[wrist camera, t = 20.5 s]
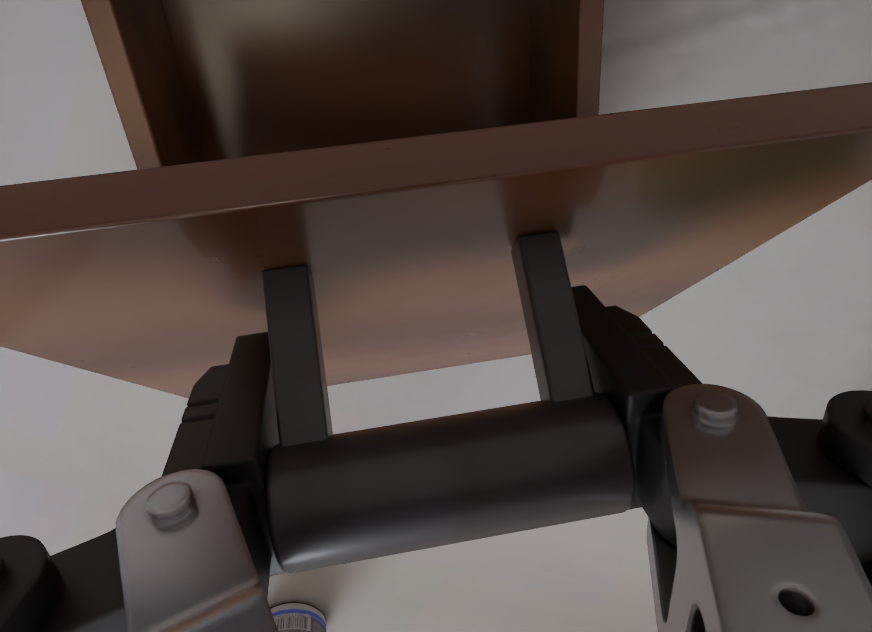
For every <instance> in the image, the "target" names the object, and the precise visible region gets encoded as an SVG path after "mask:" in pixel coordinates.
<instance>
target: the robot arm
mask: <svg viewBox="0 0 872 632" xmlns="http://www.w3.org/2000/svg"><path fill="white" fill-rule="evenodd" d="M571 288H572V292H573V297H574V301H575V306H576V310H577V314H578V319H579V323H580V328H581V332H582V337H583V341H584V346H585V350H586V355H587V359H588V364H589V368H590V373H591V377H592V382H593V386H594V391H595V392H597V393H601V394H604V395H605V396H606V397H608V398H609V400H610V401H611V402H612V403H613V405H614V406H615V408H616V410H617V411H618V413H619V415H620V417H621V419H622V422H623V424H624V427H625V429H626V432H627V435H628V438H629V441H630V445H631V449H632V454H633V459H634V466H635V478H636V489H635V497H634V501H633V504H632V505H631V507H630V508H629V509H634V508H639V507H643V509H644V511H645V512H646V514H647V515H648V517H649V518H648V526H647V545H648V554H649V562H650V571H651V579H652V588H653V596H654V605H655V613H656V622H657V630H658V632H872V391H862V390H861V391H848V392H844V393H840V394H838V395H836V396H834V397H833V398H831V399H830V400H829V402H828V404H827V407H826V411H825V414H824V417H823V420H818V419H799V418H779V417H768V416H767V415H766V413H765V412H764V410H763V409H762V408H761V406H760V405H759V404H758V403H756V402H755V401H754V400H753V399H751V398H750V397H748V396H746V395H744V394H742V393H740V392H738V391H736V390H733V389H730V388H727V387H723V386H718V385H711V384H702V383H701V382H700V381H699V380H698V379H697V378H696V376H695V375H694V374H693V373H692V372H691V371H690V370H689V369H688V368H687V367H686V366H685V365H684V364H683V363H682V362H681V361H680V360H679V359H678V358H677V357H676V356H675V355H674V354H673V353H672V352H671V350H670V349H669V348H668V347H667V346H664V345H663V342H662V341H661V340H660V339H659V338H658V337H657V336H656V335H655V334H652V331H651V330H650V329H649V328H648V327H647V326H646V324H645V323H644V322H643V321H642V320H641V319H640V318H639V317H638V316H636V315H634V314H632V313H630V312H628V311H626V310H624V309H622V308H620V307H618V306H616V305H614V306H607V307H605V306H604V305H603V304H602V302H601V301H600V300H599V299H598V298H597V297H596V296H595V295H594V293H593V292H592V291H591V290H590V289H589V288H588V287H587V286H586V285H580V286H574V287H571ZM187 406H188V407H187V408H185V411H184V414H183V417H182V424H180V426H179V428H178V431H177V434H176V437H175V440H174V443H173V446H172V448H171V451H170V454H169V457H168V460H167V463H166V466H165V468H164V471H163V474H162V477H160V478H158V479H156V480H154V481H153V482H151V483H149V484H147V485H146V486H144V487H143V488H142V489H140V490H139V491H138V492H137V493H135V494H134V495H133V496H132V497H131V498H130V499H129V500H128V501H127V502H126V504H125V505H124V507H123V508H122V509H121V511H120V513H119V515H118V518H117V521H116V528H115V529H113V530H111V531H110V532H108V533H105V534H103V535H101V536H99V537H96V538H94V539H91V540H89V541H86V542H84V543H82V544H79V545H77V546H74V547H72V548H69V549H67V550H64V551H62V552H59V553H57V554H55V555H52V556H50V555H49V553H48V552H47V550H46V548H45V547H44V545H43V544H42V543H41V541H39V540H38V539H36V538H34V537H30V536H23V535H17V536H8V537H3V538H0V632H278V629H277V626H276V623H275V621H274V618H273V615H272V612H271V610H270V607H269V604H268V601H267V595H268V586H269V576H272V575H278V574H283V573H287V572H284V571H282V569H281V568H280V566H279V564H278V561H277V559H276V557H275V554H274V550H273V547H272V542H271V538H270V532H269V526H268V518H267V508H266V469H267V462H268V458H269V453H270V451H271V449H272V447H273V446H275V445H277V444H279V435H278V425H277V415H276V406H275V396H274V386H273V377H272V367H271V357H270V347H269V338H268V332H262V333H255V334H248V335H241V336H237V337H236V340H235V344H234V347H233V351H232V354H231V358H230V362H229V364H225V365H219V366H212V367H210V368H209V369H208V371H207V372H206V373H205V374H204V375H203V376H202V377H201V378H200V379H199V380H198V381H197V382H196V383H195V384H194V386H193V388H192V391H191V394H190V397H189V400H188V403H187ZM629 509H628V510H629Z"/></svg>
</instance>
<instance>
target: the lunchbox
mask: <svg viewBox="0 0 872 632" xmlns="http://www.w3.org/2000/svg"><path fill="white" fill-rule="evenodd" d="M81 2H82V5H83V8H84V11H85V14H86V17H87V20H88V23H89V26H90V29H91V32H92V35H93V38H94V41H95V44H96V47H97V50H98V53H99V56H100V59H101V62H102V65H103V68H104V71H105V74H106V77H107V80H108V83H109V86H110V89H111V92H112V95H113V98H114V101H115V104H116V107H117V110H118V113H119V116H120V119H121V122H122V125H123V128H124V131H125V134H126V137H127V140H128V143H129V146H130V149H131V152H132V154H133V157H134V160H135V163H136V166H137V169H138V170H140V169H148V168H156V167H165V166H173V165H182V164H190V163H198V162H207V161H215V160H224V159H232V158H240V157H249V156H257V155H266V154H274V153H282V152H291V151H299V150H308V149H316V148H324V147H333V146H341V145H350V144H358V143H366V142H375V141H383V140H392V139H400V138H408V137H417V136H425V135H434V134H442V133H450V132H459V131H467V130H476V129H484V128H492V127H501V126H509V125H518V124H526V123H534V122H543V121H551V120H560V119H568V118H576V117H585V116H593V115H598V110H599V91H600V71H601V52H602V33H603V13H604V0H81Z"/></svg>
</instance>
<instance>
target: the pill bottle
mask: <svg viewBox="0 0 872 632" xmlns="http://www.w3.org/2000/svg"><path fill="white" fill-rule="evenodd" d="M270 610H271V612H272V615H273V618H274V621H275V623H276V626H277V629H278V632H326V620H325V617H324V616H323V614H322V613H321V612H320V611H318V610H317V609H315V608H314V607H311V606H309V605H306V604H301V603H288V604H282V605H279V606H276V607H273V608H271V609H270Z"/></svg>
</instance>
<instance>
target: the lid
mask: <svg viewBox="0 0 872 632" xmlns="http://www.w3.org/2000/svg"><path fill="white" fill-rule="evenodd" d="M870 180H872V82H870V83H862V84H854V85H845V86H837V87H828V88H820V89H812V90H803V91H795V92H786V93H778V94H770V95H761V96H753V97H744V98H736V99H728V100H719V101H711V102H702V103H694V104H686V105H677V106H669V107H660V108H652V109H644V110H635V111H627V112H618V113H610V114H602V115H593V116H585V117H576V118H568V119H560V120H551V121H543V122H534V123H526V124H518V125H509V126H501V127H492V128H484V129H476V130H467V131H459V132H450V133H442V134H434V135H425V136H417V137H408V138H400V139H392V140H383V141H375V142H366V143H358V144H350V145H341V146H333V147H324V148H316V149H308V150H299V151H291V152H282V153H274V154H266V155H257V156H249V157H240V158H232V159H224V160H215V161H207V162H198V163H190V164H182V165H173V166H165V167H156V168H148V169H140V170H131V171H123V172H114V173H106V174H98V175H89V176H81V177H72V178H64V179H56V180H47V181H39V182H30V183H22V184H14V185H5V186H0V346H1V347H5V348H8V349H12V350H15V351H19V352H23V353H26V354H30V355H34V356H37V357H41V358H44V359H48V360H52V361H55V362H59V363H63V364H66V365H70V366H74V367H77V368H81V369H84V370H88V371H92V372H95V373H99V374H103V375H106V376H110V377H113V378H117V379H121V380H124V381H128V382H132V383H135V384H139V385H143V386H146V387H150V388H153V389H157V390H161V391H164V392H168V393H172V394H175V395H179V396H182V397H186V398H189V397H190V394H191V391H192V388H193V386H194V384H195V383H196V382H197V381H198V380H199V379H200V378H201V377H202V376H203V375H204V374H205V373H206V372H207V371H208V369H209V368H210V367H212V366H219V365H225V364H229V362H230V358H231V354H232V351H233V347H234V344H235V340H236V337H237V336H241V335H248V334H255V333H262V332H268V338H269V347H270V357H271V367H272V377H273V386H274V396H275V406H276V415H277V425H278V435H279V444H277V445H275V446H273V447H272V449H271V451H270V453H269V458H268V462H267V469H266V508H267V518H268V526H269V532H270V538H271V542H272V547H273V550H274V554H275V557H276V559H277V561H278V564H279V566H280V568H281V569H282V571H284V572H287V573H295V572H301V571H306V570H311V569H317V568H322V567H328V566H333V565H339V564H344V563H350V562H355V561H361V560H366V559H372V558H377V557H382V556H388V555H393V554H399V553H404V552H410V551H415V550H421V549H426V548H432V547H437V546H442V545H448V544H453V543H459V542H464V541H470V540H475V539H481V538H486V537H492V536H497V535H502V534H508V533H513V532H519V531H524V530H530V529H535V528H541V527H546V526H552V525H557V524H563V523H568V522H573V521H579V520H584V519H590V518H595V517H601V516H606V515H612V514H617V513H622V512H625V511H626V510H628V509H629V508H630V507H631V505H632V504H633V501H634V497H635V489H636V478H635V466H634V459H633V454H632V449H631V445H630V441H629V438H628V435H627V432H626V429H625V427H624V424H623V422H622V419H621V417H620V415H619V413H618V411H617V410H616V408H615V406H614V405H613V403H612V402H611V401H610V400H609V398H608V397H606V396H605V395H604V394H601V393H597V392H595V391H594V386H593V382H592V377H591V373H590V368H589V364H588V359H587V355H586V350H585V346H584V341H583V337H582V332H581V328H580V323H579V319H578V314H577V310H576V306H575V301H574V297H573V292H572V288H571V287H574V286H580V285H586V286H587V287H588V288H589V289H590V290H591V291H592V292H593V293H594V295H595V296H596V297H597V298H598V299H599V300H600V301H601V302H602V304H603V305H604V306H605V307H607V306H614V305H616V306H618V307H620V308H622V309H624V310H626V311H628V312H630V313H632V314H634V315H636V316H638V317H640V316H642V315H643V314H645V313H647V312H648V311H650V310H652V309H653V308H655V307H657V306H658V305H660V304H662V303H664V302H665V301H667V300H669V299H670V298H672V297H674V296H675V295H677V294H679V293H680V292H682V291H684V290H686V289H687V288H689V287H691V286H692V285H694V284H696V283H697V282H699V281H701V280H702V279H704V278H706V277H708V276H709V275H711V274H713V273H714V272H716V271H718V270H719V269H721V268H723V267H724V266H726V265H728V264H730V263H731V262H733V261H735V260H736V259H738V258H740V257H741V256H743V255H745V254H746V253H748V252H750V251H751V250H753V249H755V248H757V247H758V246H760V245H762V244H763V243H765V242H767V241H768V240H770V239H772V238H773V237H775V236H777V235H779V234H780V233H782V232H784V231H785V230H787V229H789V228H790V227H792V226H794V225H795V224H797V223H799V222H801V221H802V220H804V219H806V218H807V217H809V216H811V215H812V214H814V213H816V212H817V211H819V210H821V209H823V208H824V207H826V206H828V205H829V204H831V203H833V202H834V201H836V200H838V199H839V198H841V197H843V196H844V195H846V194H848V193H850V192H851V191H853V190H855V189H856V188H858V187H860V186H861V185H863V184H865V183H866V182H868V181H870ZM529 354H532V358H533V363H534V368H535V373H536V378H537V383H538V388H539V393H540V398H541V401H536V402H530V403H524V404H518V405H512V406H506V407H500V408H493V409H487V410H481V411H475V412H469V413H463V414H457V415H451V416H444V417H438V418H432V419H426V420H420V421H414V422H408V423H402V424H395V425H389V426H383V427H377V428H371V429H365V430H359V431H353V432H346V433H340V434H334V435H333V432H332V424H331V416H330V408H329V400H328V392H327V386H330V385H337V384H343V383H349V382H356V381H362V380H369V379H375V378H382V377H388V376H394V375H401V374H407V373H414V372H420V371H427V370H433V369H439V368H446V367H452V366H459V365H465V364H471V363H478V362H484V361H491V360H497V359H504V358H510V357H516V356H523V355H529Z"/></svg>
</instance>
